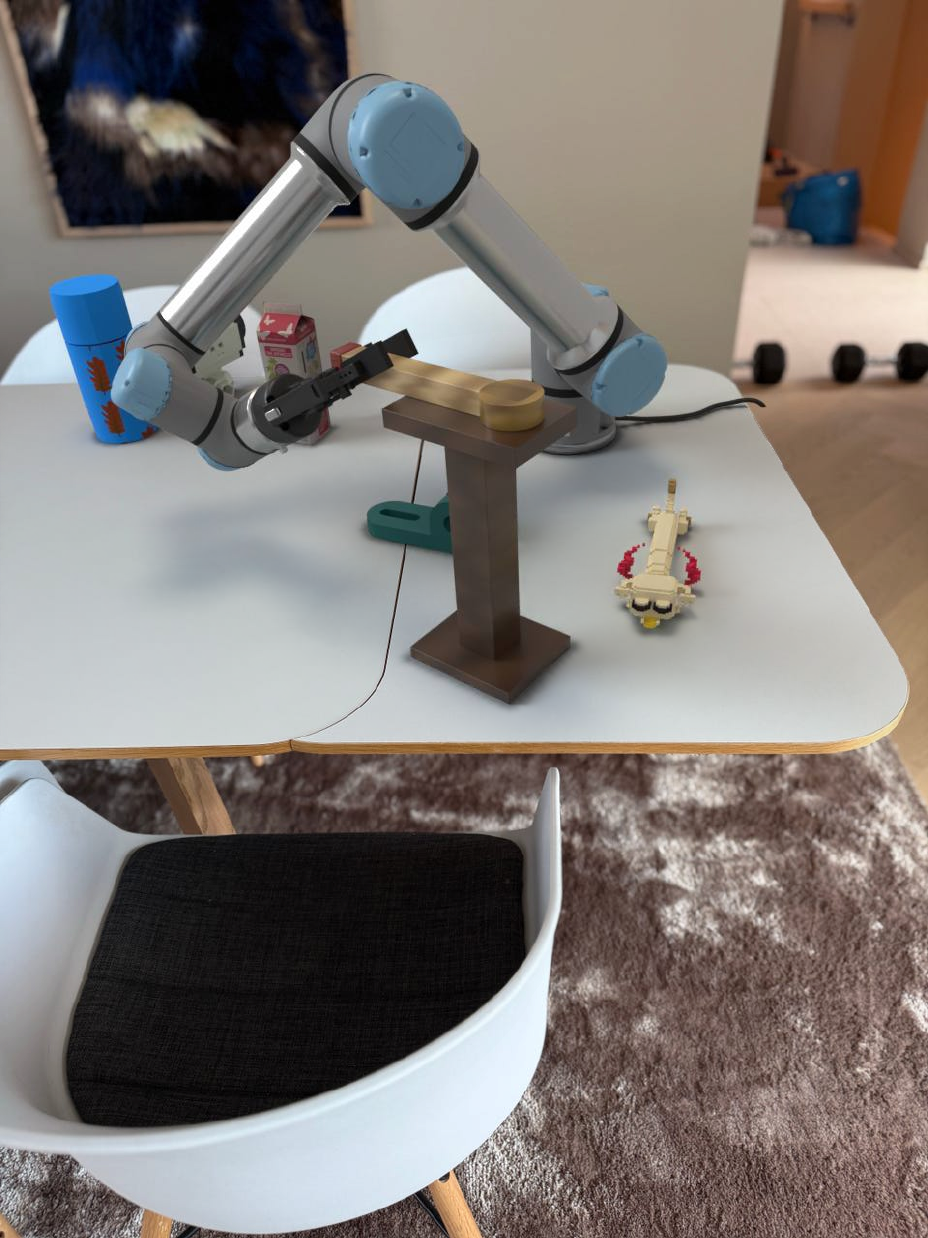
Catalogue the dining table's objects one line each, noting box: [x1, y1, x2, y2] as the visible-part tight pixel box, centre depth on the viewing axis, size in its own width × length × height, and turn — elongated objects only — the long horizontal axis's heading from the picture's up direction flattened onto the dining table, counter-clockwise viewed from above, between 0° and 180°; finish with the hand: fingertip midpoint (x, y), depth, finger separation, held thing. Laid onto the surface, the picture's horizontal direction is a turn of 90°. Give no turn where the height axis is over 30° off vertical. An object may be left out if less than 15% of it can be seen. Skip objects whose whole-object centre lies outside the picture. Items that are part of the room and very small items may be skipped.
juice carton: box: [255, 301, 332, 446], centre depth 147 cm, size 7×7×22 cm
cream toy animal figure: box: [613, 477, 702, 629], centre depth 112 cm, size 10×9×25 cm
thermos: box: [48, 274, 159, 445], centre depth 152 cm, size 11×11×25 cm
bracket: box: [366, 491, 453, 555], centre depth 124 cm, size 18×7×8 cm, turn 65°
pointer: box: [329, 341, 545, 432], centre depth 89 cm, size 25×6×3 cm, turn 51°
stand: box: [380, 395, 578, 705], centre depth 96 cm, size 16×12×30 cm
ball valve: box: [191, 314, 247, 397], centre depth 162 cm, size 18×8×18 cm, turn 149°
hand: (397, 348), depth 89 cm, fingers closed on pointer, 3 cm apart
